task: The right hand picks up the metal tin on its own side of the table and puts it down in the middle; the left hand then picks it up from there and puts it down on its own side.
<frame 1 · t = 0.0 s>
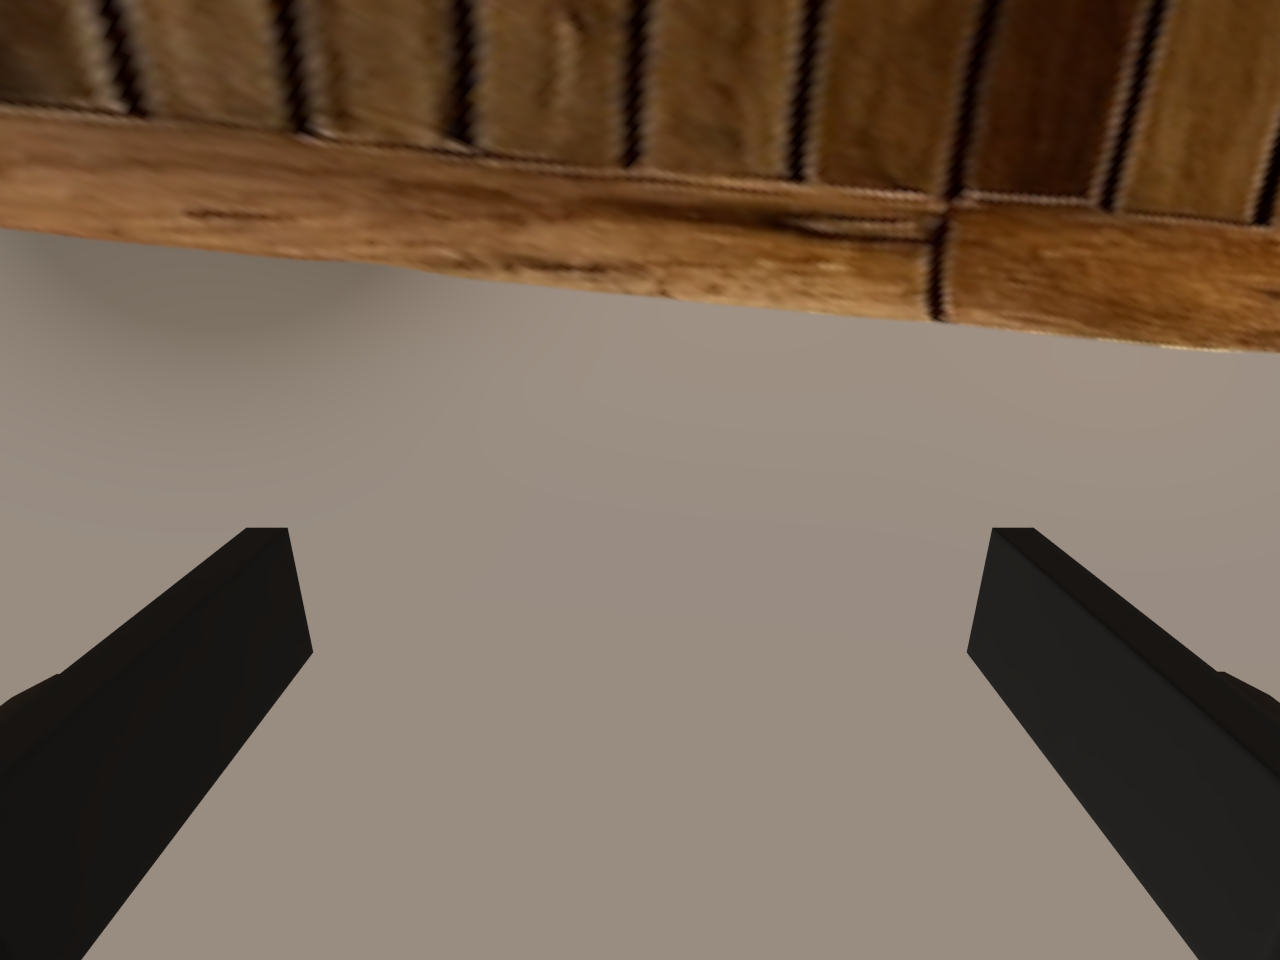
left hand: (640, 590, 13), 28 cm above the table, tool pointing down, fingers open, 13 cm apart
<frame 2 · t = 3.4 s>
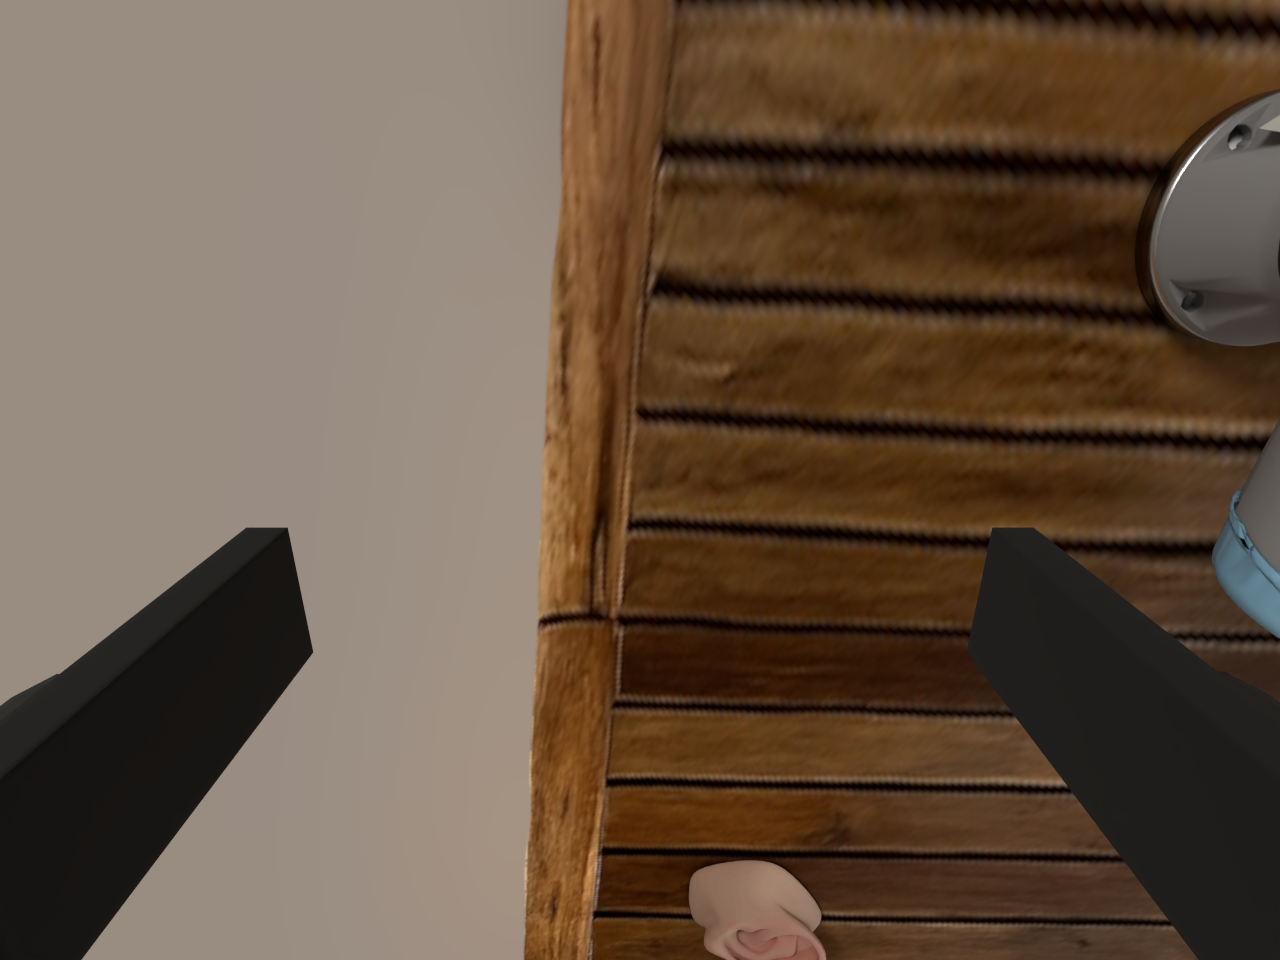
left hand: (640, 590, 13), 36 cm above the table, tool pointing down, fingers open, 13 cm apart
anatomical model: (750, 901, 66), on the table
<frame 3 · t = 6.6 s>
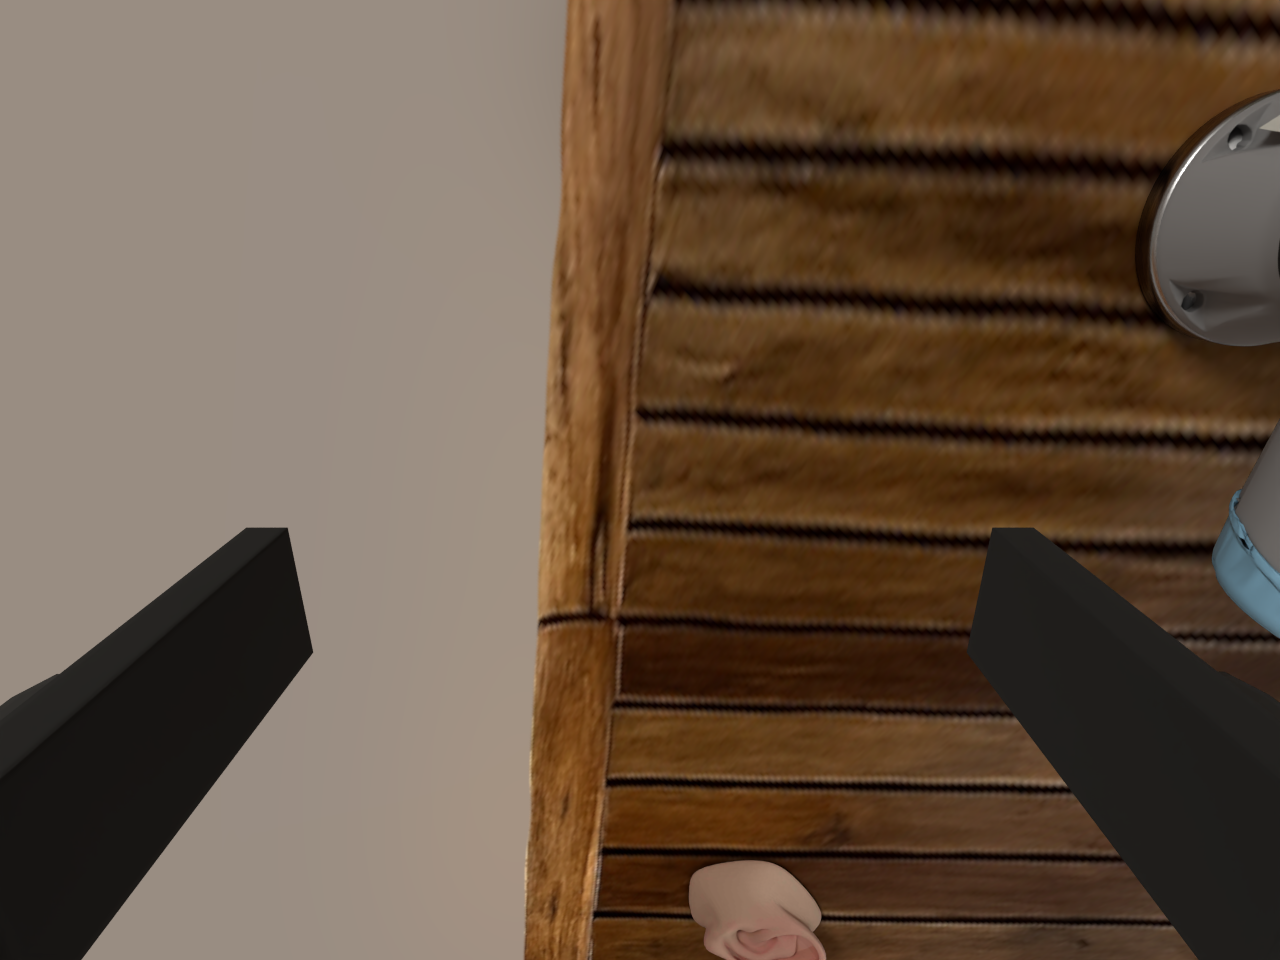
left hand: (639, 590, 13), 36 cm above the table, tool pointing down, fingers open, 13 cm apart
anatomical model: (750, 901, 66), on the table
when the right hand's fingers open (2 cm above the table, at t = 10.0 s): tin stays where it is, on the table.
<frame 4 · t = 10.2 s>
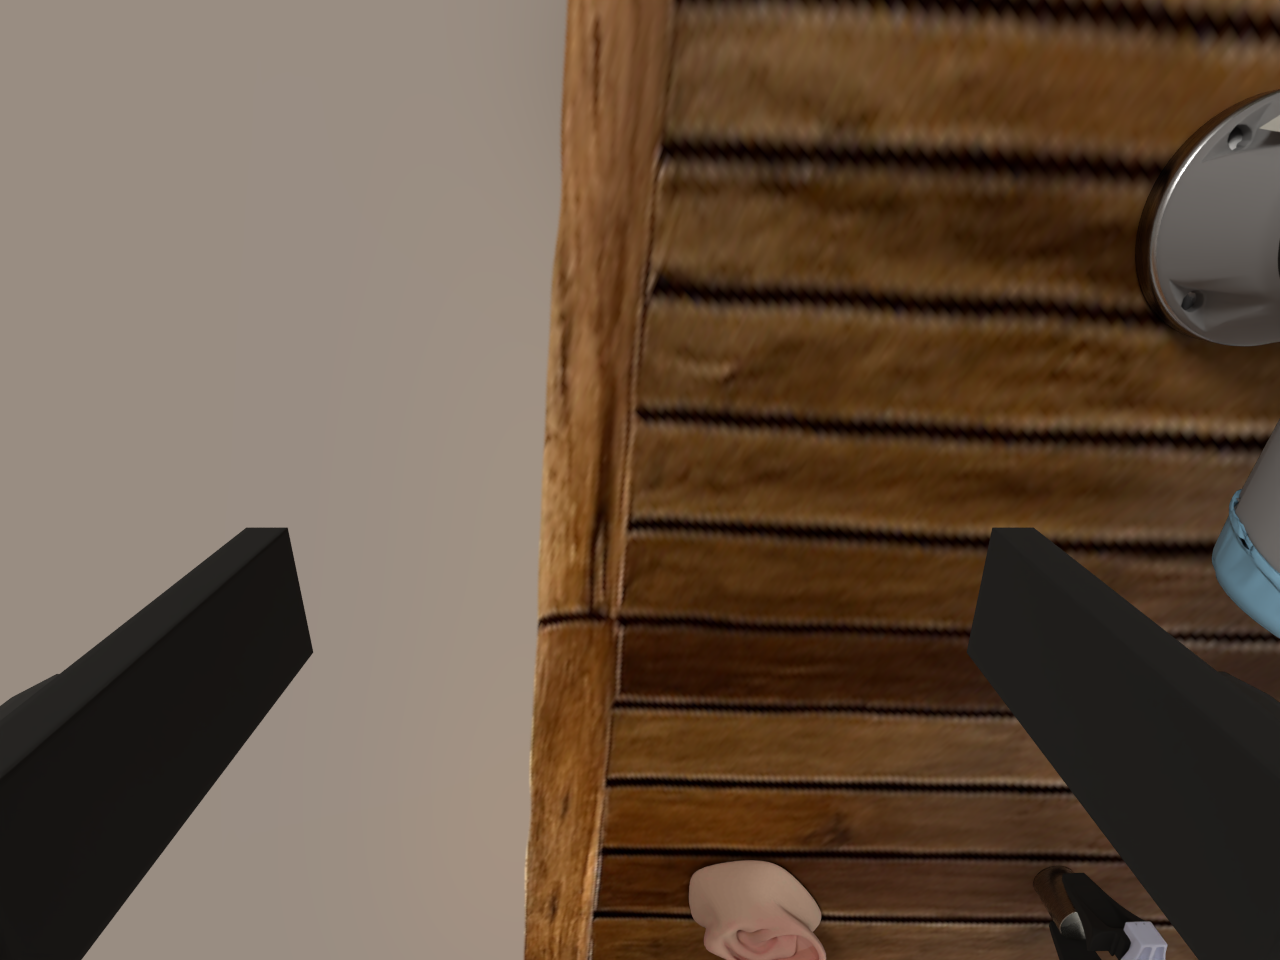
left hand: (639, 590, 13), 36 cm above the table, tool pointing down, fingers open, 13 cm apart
anatomical model: (750, 901, 66), on the table
tin: (1053, 880, 65), on the table
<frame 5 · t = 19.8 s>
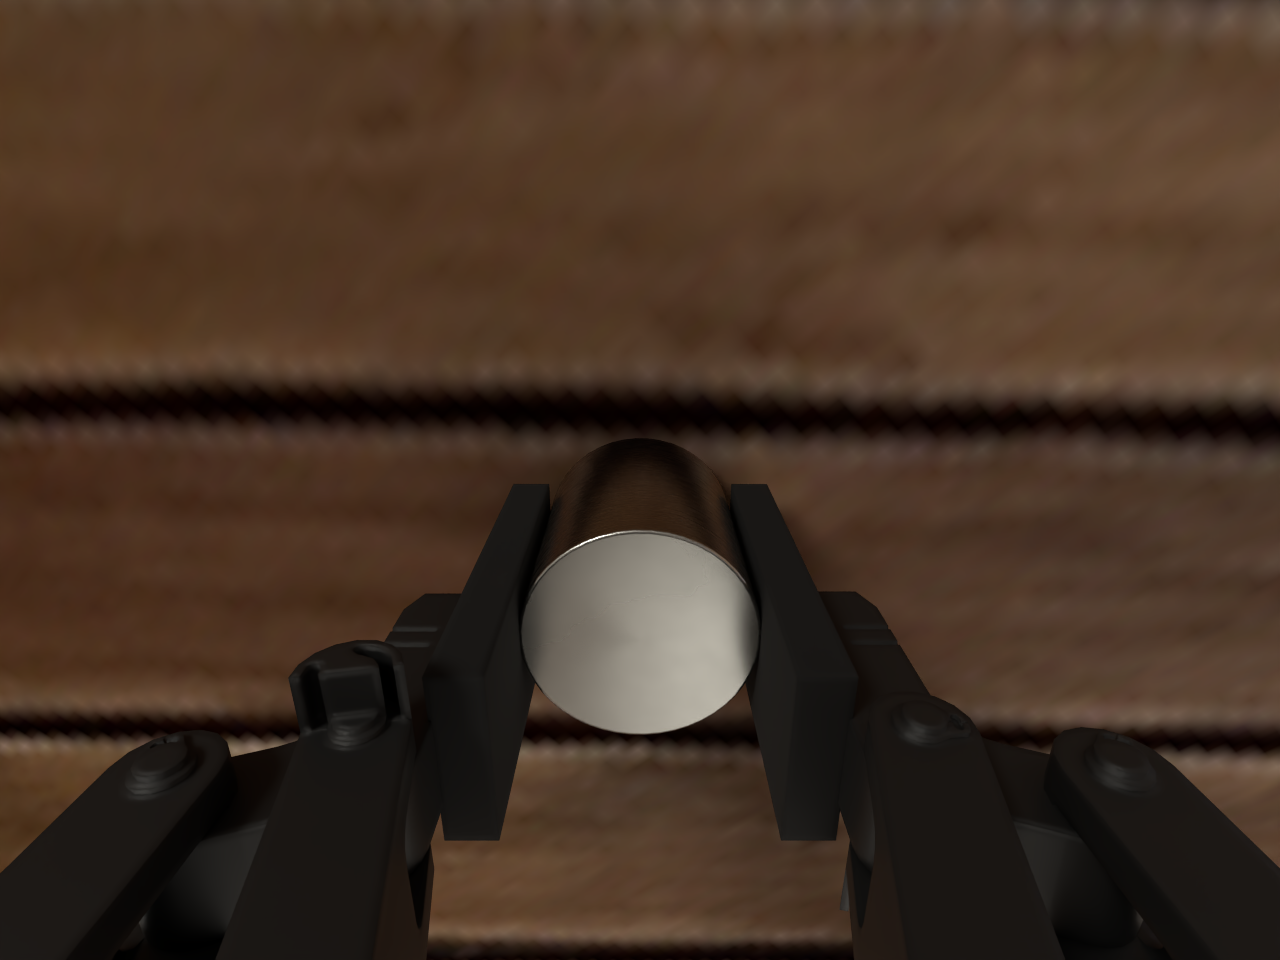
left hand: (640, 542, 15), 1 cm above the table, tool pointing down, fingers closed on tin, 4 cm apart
tin: (640, 521, 15), on the table, touching left hand
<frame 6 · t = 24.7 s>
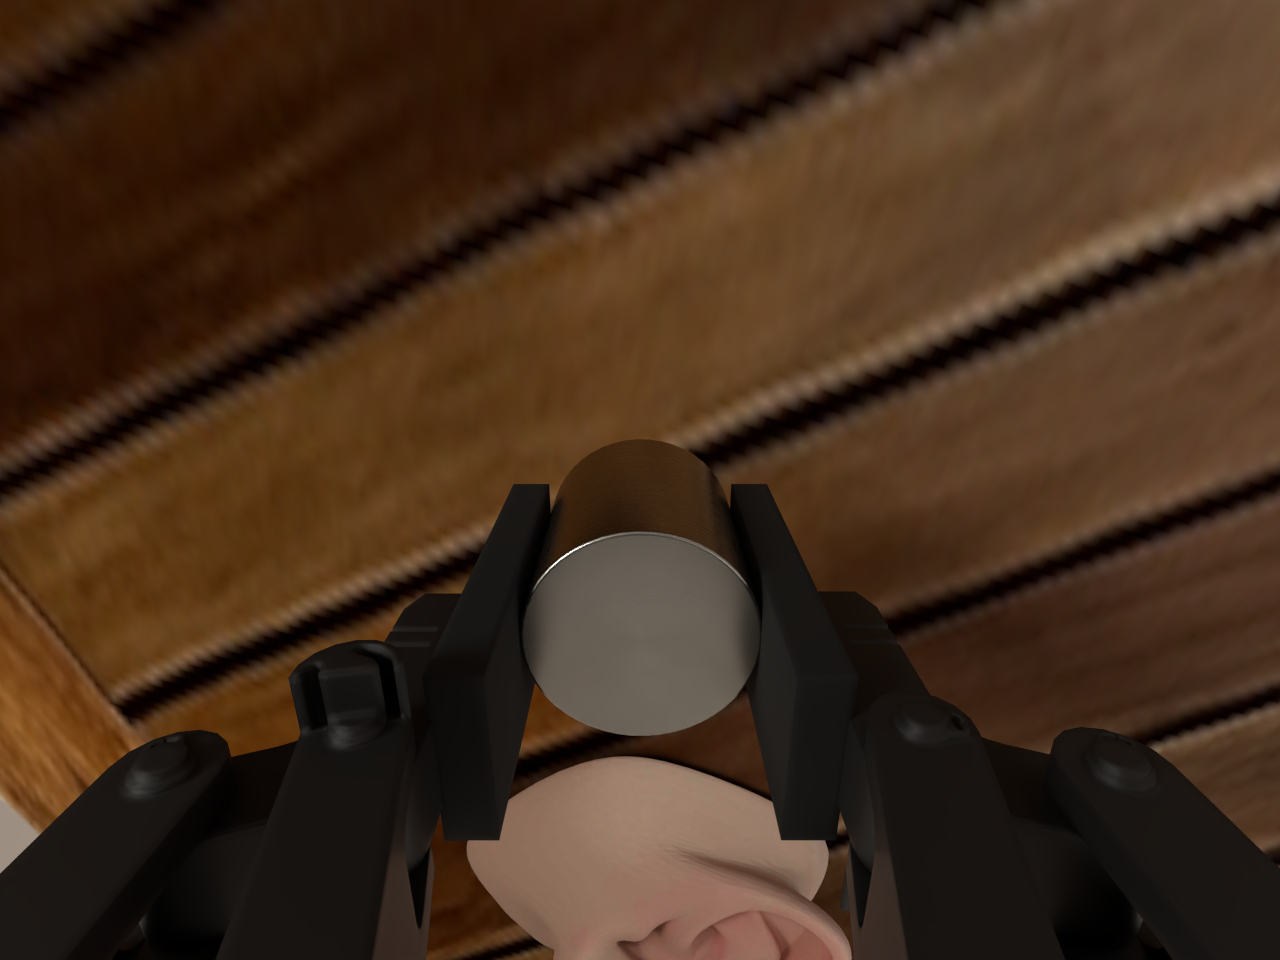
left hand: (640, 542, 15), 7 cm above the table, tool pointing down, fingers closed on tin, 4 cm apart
anatomical model: (646, 863, 27), on the table
tin: (641, 522, 15), point 6 cm above the table, touching left hand
when the left hand's fingers open (0 cm above the table, at t = 29.4 s): tin stays where it is, on the table.
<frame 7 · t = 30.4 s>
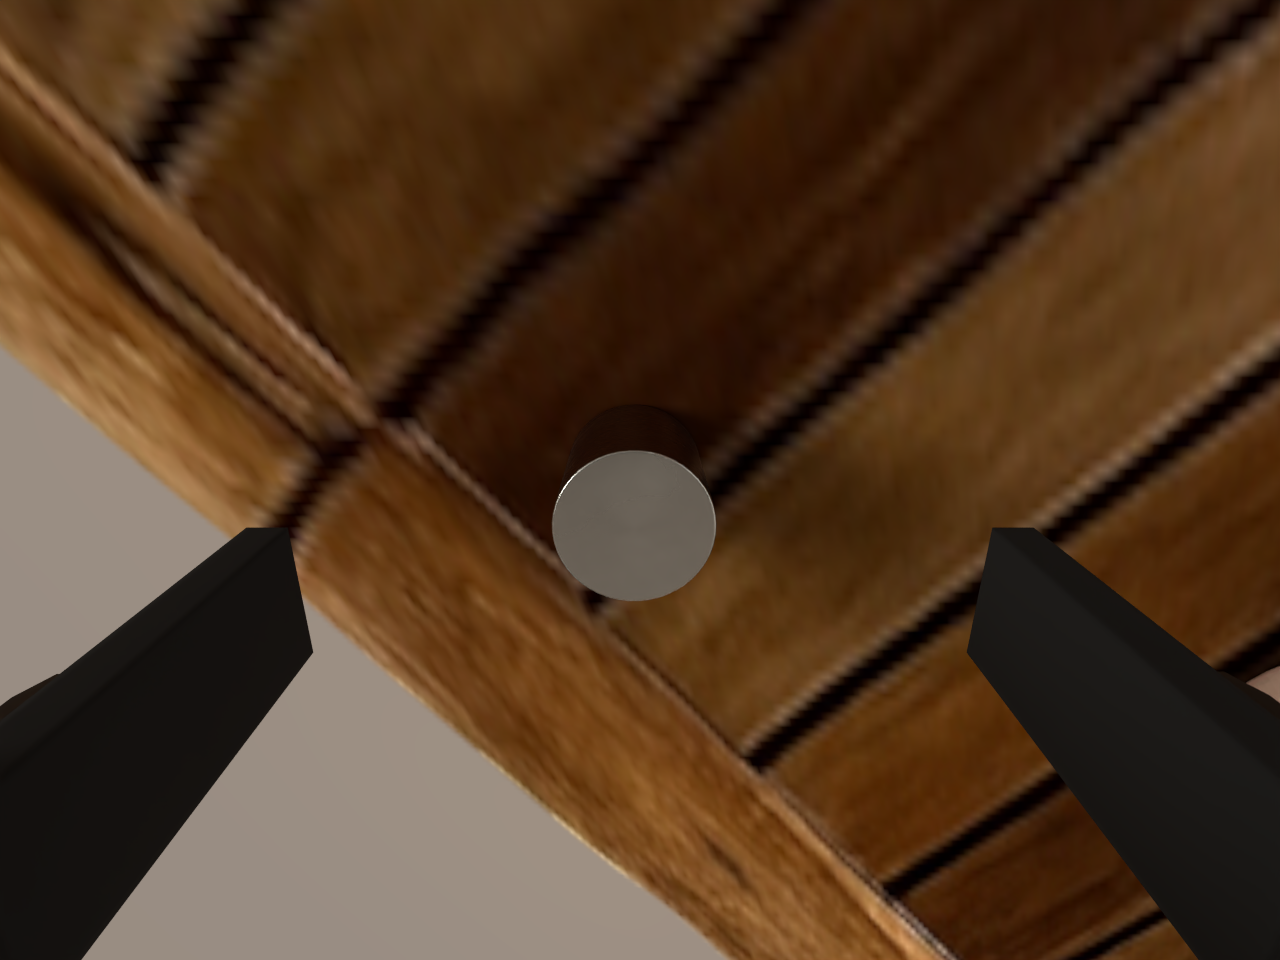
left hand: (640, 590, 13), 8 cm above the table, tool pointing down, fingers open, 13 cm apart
tin: (634, 468, 20), on the table
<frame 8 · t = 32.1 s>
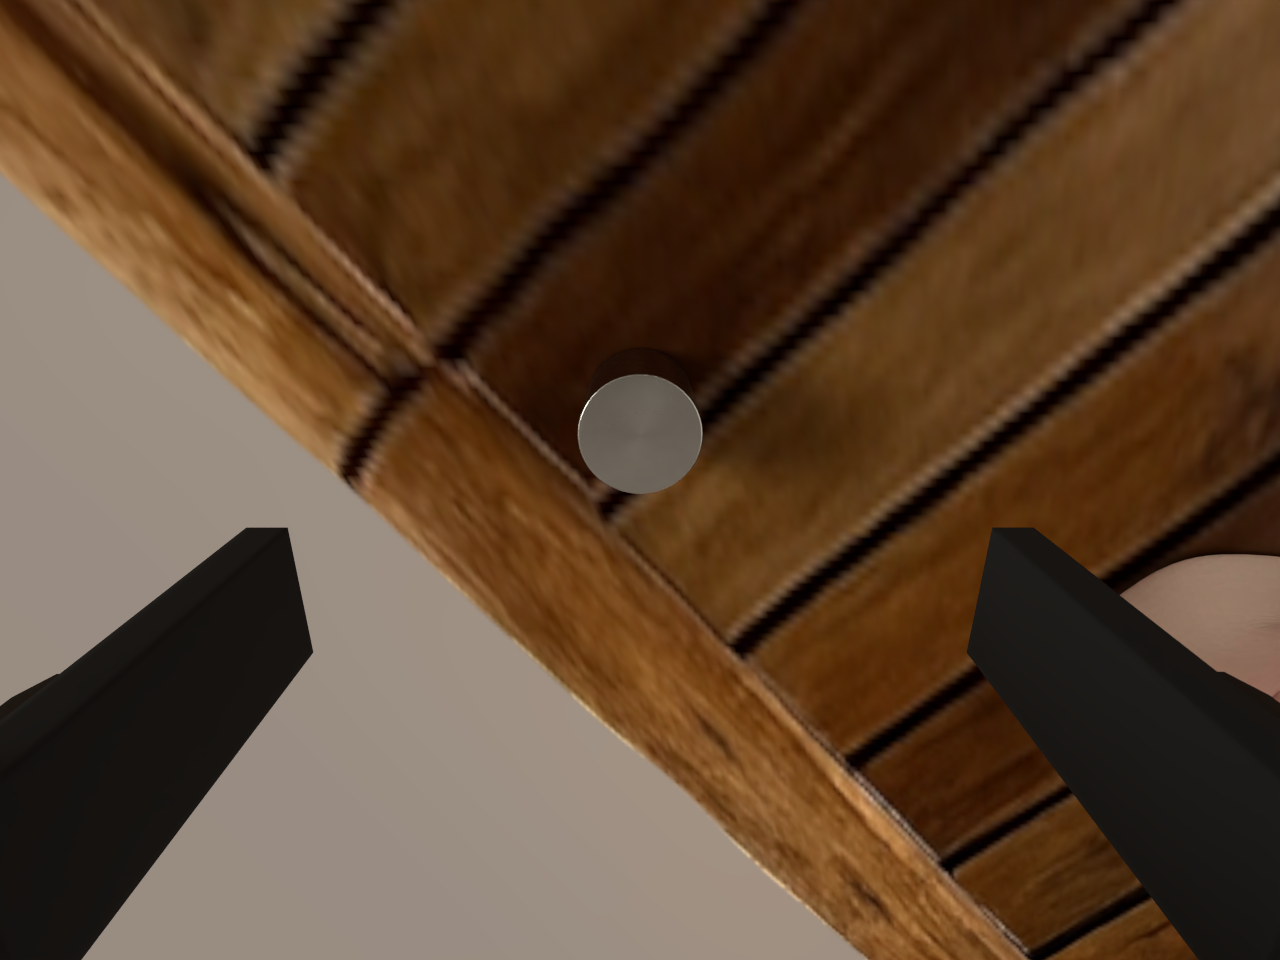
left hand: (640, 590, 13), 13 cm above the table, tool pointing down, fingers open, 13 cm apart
anatomical model: (1206, 662, 29), on the table
tin: (640, 400, 25), on the table
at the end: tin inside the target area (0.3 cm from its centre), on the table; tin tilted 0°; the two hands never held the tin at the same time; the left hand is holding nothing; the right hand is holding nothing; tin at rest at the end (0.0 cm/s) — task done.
